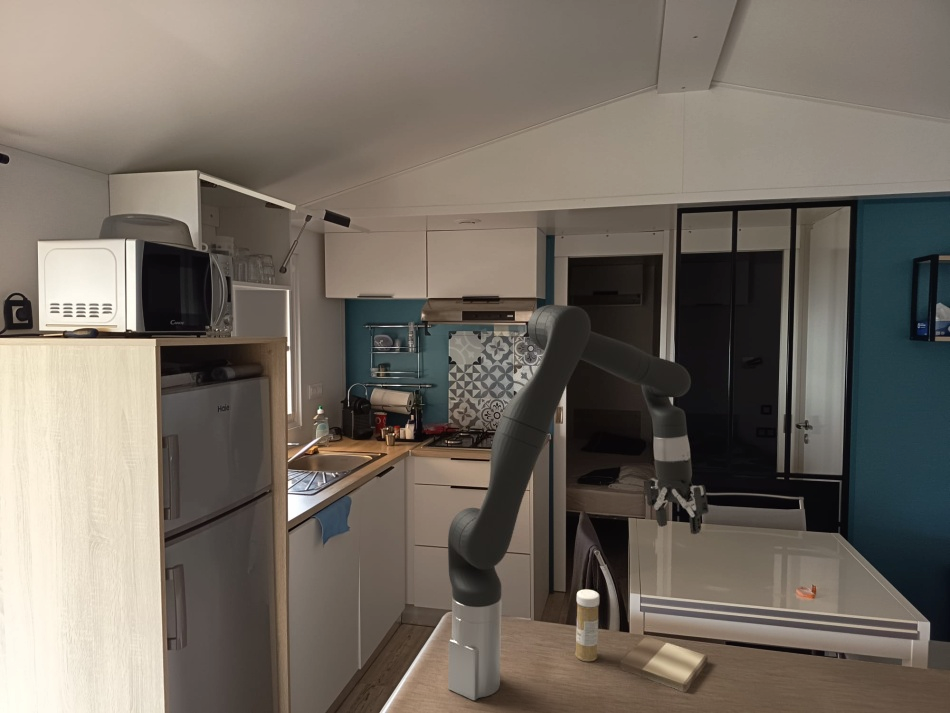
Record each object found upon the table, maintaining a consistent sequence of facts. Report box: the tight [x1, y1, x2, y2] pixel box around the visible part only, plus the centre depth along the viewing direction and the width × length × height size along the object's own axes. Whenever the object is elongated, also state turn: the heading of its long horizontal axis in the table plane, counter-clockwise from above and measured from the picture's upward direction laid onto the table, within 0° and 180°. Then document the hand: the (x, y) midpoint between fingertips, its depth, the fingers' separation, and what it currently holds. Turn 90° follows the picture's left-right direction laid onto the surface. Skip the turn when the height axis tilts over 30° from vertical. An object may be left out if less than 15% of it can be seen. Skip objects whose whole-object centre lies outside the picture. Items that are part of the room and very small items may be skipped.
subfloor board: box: [620, 635, 708, 693], centre depth 132 cm, size 13×13×2 cm
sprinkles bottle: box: [574, 588, 600, 662], centre depth 135 cm, size 5×5×13 cm
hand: (678, 529), depth 143 cm, fingers open, 8 cm apart
